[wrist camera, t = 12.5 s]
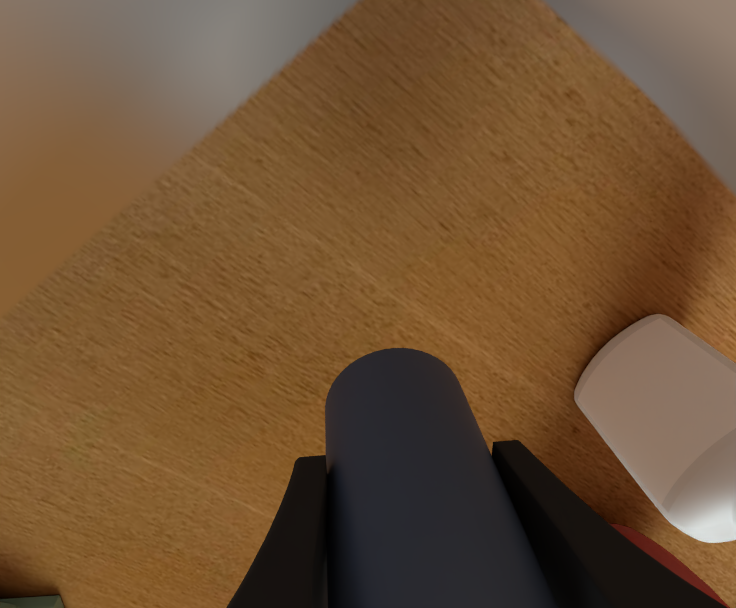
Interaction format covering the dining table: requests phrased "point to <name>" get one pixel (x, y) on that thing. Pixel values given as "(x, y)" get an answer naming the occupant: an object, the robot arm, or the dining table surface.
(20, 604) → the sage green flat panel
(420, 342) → the dining table surface
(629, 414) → the eye dropper bottle
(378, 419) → the blue gray cylinder
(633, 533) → the vegetable
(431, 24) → the dining table surface
